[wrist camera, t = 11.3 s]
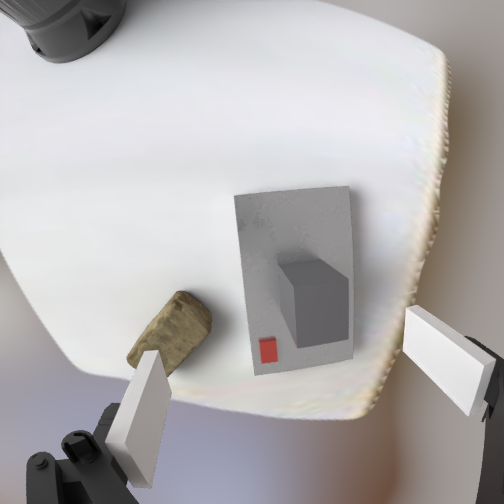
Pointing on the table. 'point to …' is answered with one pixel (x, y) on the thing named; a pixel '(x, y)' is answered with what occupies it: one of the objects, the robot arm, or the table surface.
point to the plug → (314, 302)
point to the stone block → (174, 332)
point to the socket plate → (289, 251)
